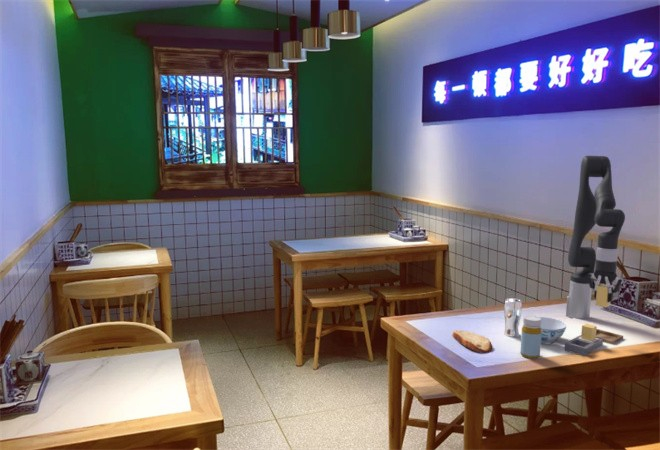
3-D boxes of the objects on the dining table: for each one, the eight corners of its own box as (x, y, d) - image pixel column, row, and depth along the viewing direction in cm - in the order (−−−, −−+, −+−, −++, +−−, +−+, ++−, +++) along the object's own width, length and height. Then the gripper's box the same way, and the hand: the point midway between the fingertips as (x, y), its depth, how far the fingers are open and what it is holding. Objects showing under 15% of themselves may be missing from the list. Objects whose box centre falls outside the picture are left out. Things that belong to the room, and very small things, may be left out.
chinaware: (547, 350, 211) (548, 331, 210) (517, 337, 224) (518, 320, 223) (573, 343, 218) (574, 325, 216) (543, 332, 231) (544, 314, 230)
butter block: (595, 305, 217) (597, 286, 216) (599, 303, 219) (601, 284, 218) (605, 307, 214) (607, 287, 213) (610, 305, 216) (611, 286, 215)
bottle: (517, 352, 209) (519, 315, 206) (534, 351, 209) (536, 314, 207) (525, 359, 202) (527, 321, 200) (543, 358, 202) (545, 320, 200)
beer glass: (520, 333, 230) (522, 299, 227) (519, 338, 223) (521, 303, 221) (503, 330, 233) (505, 297, 230) (501, 335, 226) (503, 301, 224)
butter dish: (564, 350, 211) (566, 329, 210) (582, 340, 221) (583, 321, 219) (585, 356, 205) (586, 335, 204) (602, 346, 215) (604, 326, 213)
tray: (585, 338, 223) (585, 334, 223) (595, 333, 230) (596, 328, 229) (612, 346, 215) (613, 341, 215) (623, 340, 221) (623, 335, 221)
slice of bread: (453, 333, 230) (454, 324, 230) (497, 340, 222) (497, 331, 222) (442, 347, 214) (443, 338, 214) (489, 355, 206) (489, 346, 206)
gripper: (584, 257, 217) (581, 298, 219) (621, 263, 206) (618, 306, 208) (592, 255, 222) (589, 295, 224) (629, 260, 211) (625, 302, 213)
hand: (603, 300), depth 216 cm, fingers closed on butter block, 4 cm apart
